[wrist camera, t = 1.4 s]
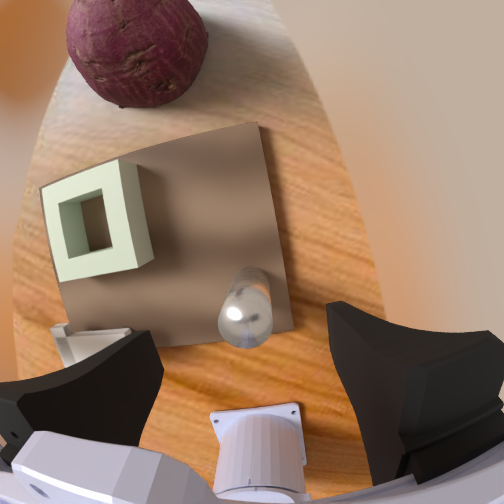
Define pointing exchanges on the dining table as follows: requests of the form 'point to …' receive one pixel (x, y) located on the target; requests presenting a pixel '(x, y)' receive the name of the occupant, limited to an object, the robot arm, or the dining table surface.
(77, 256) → the square hollow frame
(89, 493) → the robot arm
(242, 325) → the pin
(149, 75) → the vegetable
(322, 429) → the dining table surface
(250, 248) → the board
